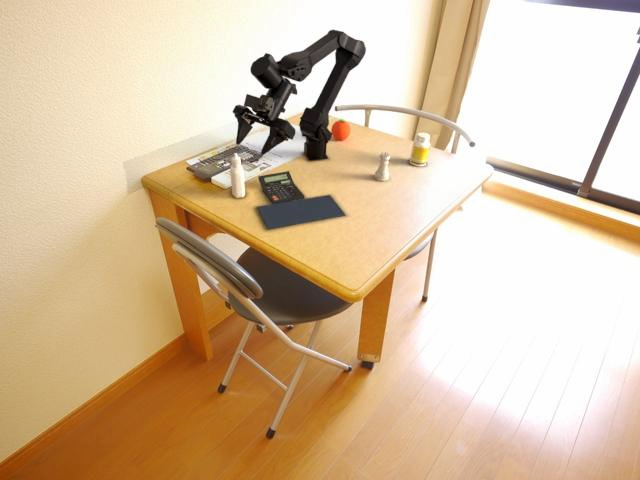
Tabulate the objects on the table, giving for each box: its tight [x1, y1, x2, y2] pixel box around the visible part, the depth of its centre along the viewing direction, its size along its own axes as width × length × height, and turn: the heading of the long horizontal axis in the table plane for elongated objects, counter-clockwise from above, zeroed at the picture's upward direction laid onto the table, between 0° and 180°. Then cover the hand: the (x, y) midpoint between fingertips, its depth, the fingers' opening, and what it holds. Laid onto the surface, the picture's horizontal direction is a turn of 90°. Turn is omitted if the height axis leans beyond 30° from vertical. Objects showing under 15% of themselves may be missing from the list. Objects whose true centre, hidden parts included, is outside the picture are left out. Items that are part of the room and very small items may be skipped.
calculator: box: [257, 170, 305, 204], centre depth 114 cm, size 9×12×3 cm
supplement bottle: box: [409, 132, 431, 167], centre depth 132 cm, size 5×5×10 cm
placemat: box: [256, 194, 346, 230], centre depth 107 cm, size 21×10×1 cm, turn 112°
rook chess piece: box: [374, 152, 391, 182], centre depth 122 cm, size 4×4×8 cm
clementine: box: [330, 119, 352, 141], centre depth 145 cm, size 8×7×7 cm
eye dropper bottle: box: [229, 152, 246, 199], centre depth 110 cm, size 4×6×12 cm
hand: (249, 149), depth 110 cm, fingers open, 9 cm apart
